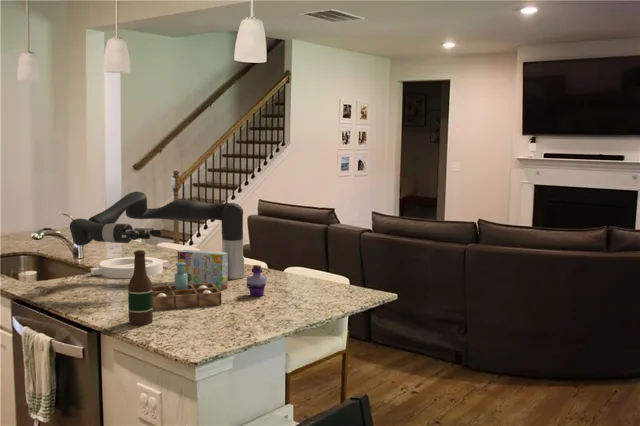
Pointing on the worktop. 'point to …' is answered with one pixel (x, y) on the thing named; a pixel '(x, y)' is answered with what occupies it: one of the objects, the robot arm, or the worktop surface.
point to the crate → (185, 296)
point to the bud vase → (181, 277)
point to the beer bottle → (140, 293)
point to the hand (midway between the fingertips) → (155, 234)
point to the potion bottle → (256, 282)
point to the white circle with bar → (128, 267)
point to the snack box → (205, 267)
